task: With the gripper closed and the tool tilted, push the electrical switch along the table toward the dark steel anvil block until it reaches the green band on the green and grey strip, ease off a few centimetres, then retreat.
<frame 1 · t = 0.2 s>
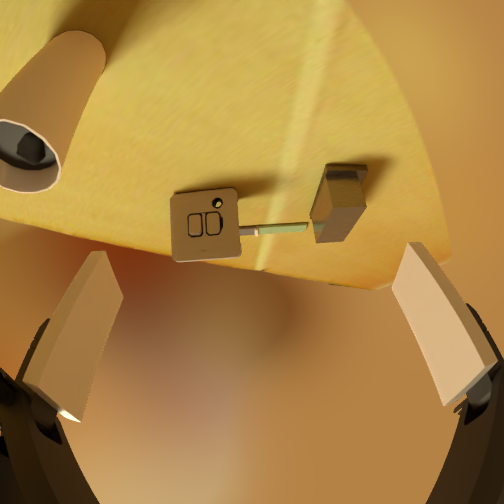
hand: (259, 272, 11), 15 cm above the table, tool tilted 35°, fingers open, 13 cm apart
electrical switch: (207, 197, 34), on the table
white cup: (73, 59, 13), on the table
anvil block: (331, 192, 34), on the table
green and grey strip: (252, 229, 44), on the table
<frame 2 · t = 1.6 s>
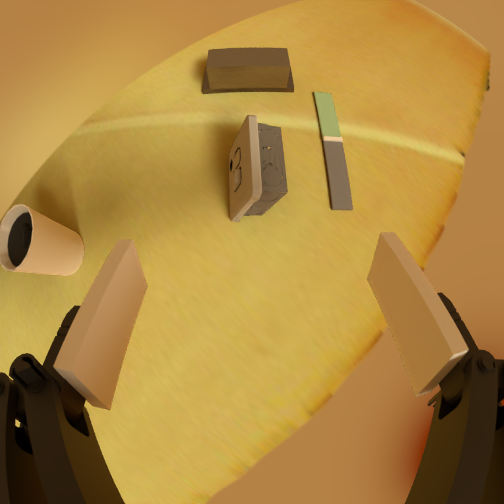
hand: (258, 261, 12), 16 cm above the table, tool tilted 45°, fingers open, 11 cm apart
electrical switch: (251, 185, 30), on the table
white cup: (68, 253, 28), on the table
anvil block: (248, 81, 32), on the table
green and grey strip: (332, 144, 31), on the table
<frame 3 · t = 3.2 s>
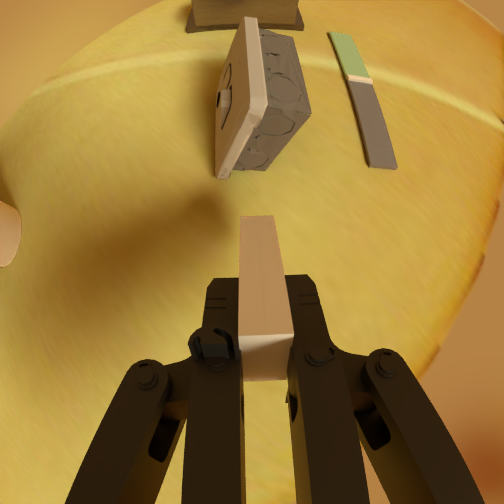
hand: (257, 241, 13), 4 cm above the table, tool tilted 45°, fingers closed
electrical switch: (248, 130, 19), on the table
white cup: (6, 237, 17), on the table
anvil block: (245, 20, 21), on the table
green and grey strip: (359, 86, 20), on the table
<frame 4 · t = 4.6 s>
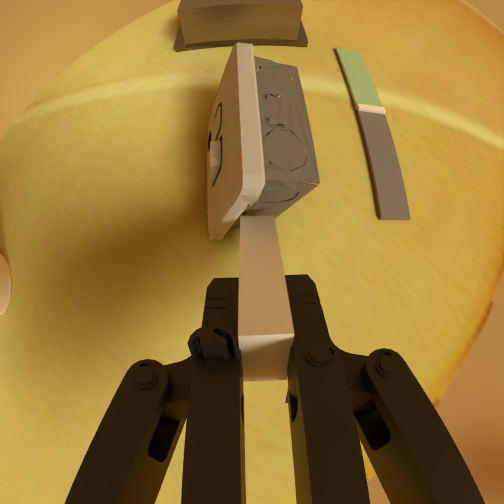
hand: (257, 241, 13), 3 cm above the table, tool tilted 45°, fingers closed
electrical switch: (245, 175, 17), on the table, touching gripper
anvil block: (241, 34, 20), on the table
green and grey strip: (370, 117, 18), on the table
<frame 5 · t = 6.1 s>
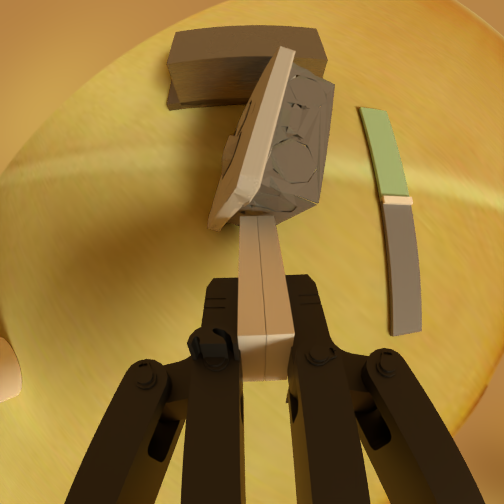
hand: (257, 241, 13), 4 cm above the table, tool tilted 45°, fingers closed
electrical switch: (260, 177, 18), on the table, touching gripper
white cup: (5, 366, 15), on the table
anvil block: (247, 86, 19), on the table
green and grey strip: (395, 209, 17), on the table
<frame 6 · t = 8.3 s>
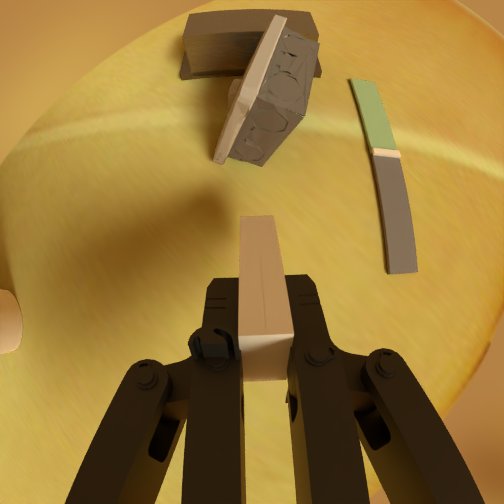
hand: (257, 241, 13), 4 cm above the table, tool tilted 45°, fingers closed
electrical switch: (260, 125, 19), on the table
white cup: (7, 320, 16), on the table
anvil block: (250, 61, 20), on the table
green and grey strip: (385, 161, 18), on the table
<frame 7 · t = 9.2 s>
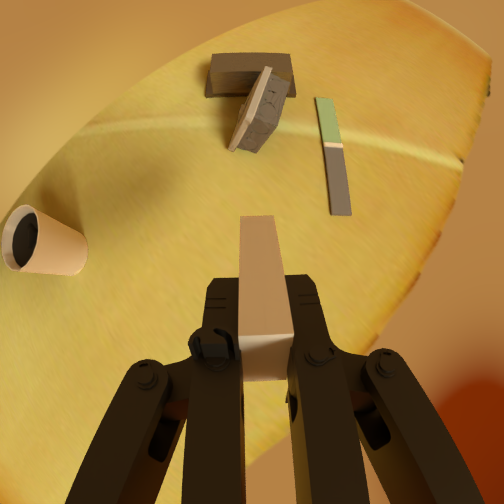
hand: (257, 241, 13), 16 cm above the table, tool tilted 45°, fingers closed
electrical switch: (256, 129, 32), on the table
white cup: (71, 253, 29), on the table
anvil block: (250, 86, 33), on the table
green and grey strip: (332, 150, 31), on the table
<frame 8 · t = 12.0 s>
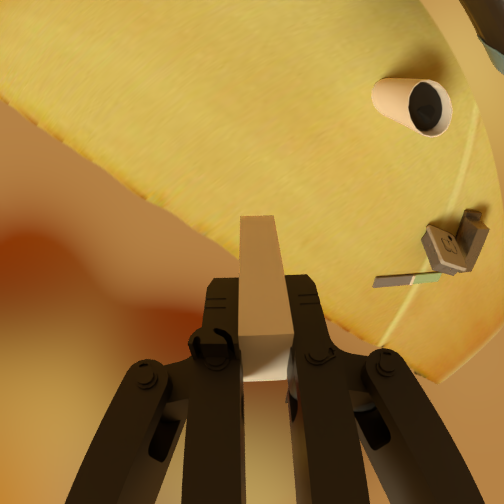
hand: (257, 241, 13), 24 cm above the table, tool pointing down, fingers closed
electrical switch: (434, 238, 43), on the table
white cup: (388, 97, 29), on the table
anvil block: (461, 237, 43), on the table
green and grey strip: (409, 278, 48), on the table
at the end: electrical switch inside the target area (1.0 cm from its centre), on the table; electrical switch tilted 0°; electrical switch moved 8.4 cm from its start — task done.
